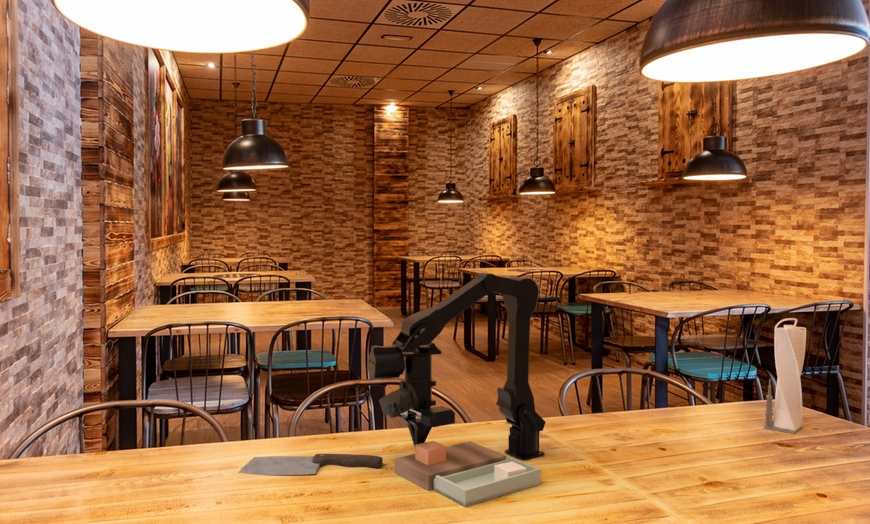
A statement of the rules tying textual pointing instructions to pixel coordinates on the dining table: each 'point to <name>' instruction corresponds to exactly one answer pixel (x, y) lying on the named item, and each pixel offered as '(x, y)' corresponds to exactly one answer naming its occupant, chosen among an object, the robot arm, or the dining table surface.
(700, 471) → the dining table surface
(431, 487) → the plate
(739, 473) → the dining table surface
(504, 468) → the pale pink cube
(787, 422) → the skyscraper
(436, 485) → the tray
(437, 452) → the salmon pink cube
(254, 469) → the cleaver
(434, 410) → the robot arm
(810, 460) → the dining table surface
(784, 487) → the dining table surface
